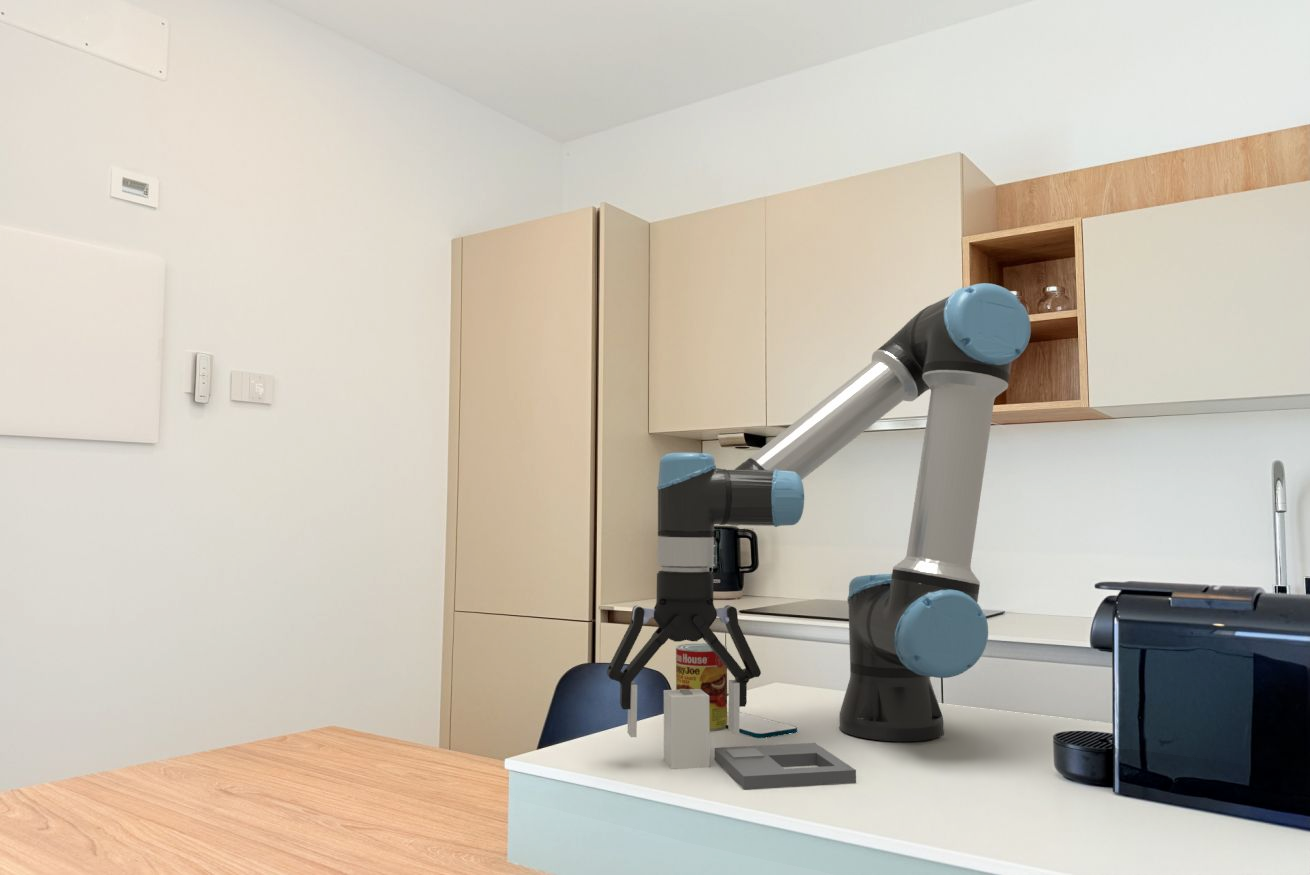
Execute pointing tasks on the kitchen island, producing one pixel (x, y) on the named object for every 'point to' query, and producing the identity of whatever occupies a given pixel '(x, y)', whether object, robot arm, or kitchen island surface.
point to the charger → (686, 729)
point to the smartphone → (762, 726)
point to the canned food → (704, 678)
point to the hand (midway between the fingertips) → (683, 733)
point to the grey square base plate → (767, 762)
